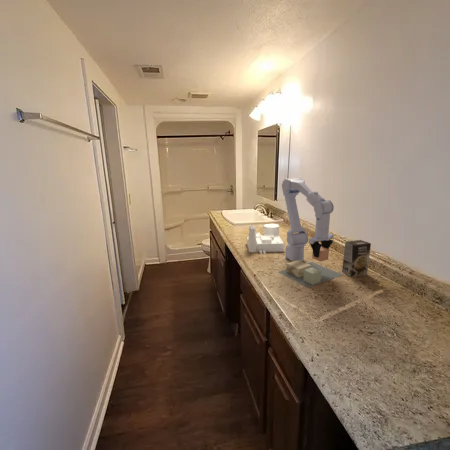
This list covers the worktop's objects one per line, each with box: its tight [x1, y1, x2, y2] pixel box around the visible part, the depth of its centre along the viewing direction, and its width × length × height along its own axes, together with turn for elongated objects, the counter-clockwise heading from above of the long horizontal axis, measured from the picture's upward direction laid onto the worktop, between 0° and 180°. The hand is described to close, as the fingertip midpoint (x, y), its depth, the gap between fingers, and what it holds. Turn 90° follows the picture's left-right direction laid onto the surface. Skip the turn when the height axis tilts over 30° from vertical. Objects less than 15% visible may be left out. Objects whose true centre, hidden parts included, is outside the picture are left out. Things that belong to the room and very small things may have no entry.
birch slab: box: [285, 260, 311, 277], centre depth 126 cm, size 8×8×4 cm
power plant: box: [246, 223, 285, 255], centre depth 169 cm, size 35×24×15 cm
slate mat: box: [278, 261, 344, 289], centre depth 125 cm, size 19×23×1 cm
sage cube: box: [304, 268, 321, 285], centre depth 116 cm, size 5×5×5 cm
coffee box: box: [341, 239, 372, 278], centre depth 122 cm, size 9×6×16 cm
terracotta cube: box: [311, 246, 330, 262], centre depth 123 cm, size 5×5×5 cm
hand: (320, 255), depth 124 cm, fingers closed on terracotta cube, 5 cm apart
